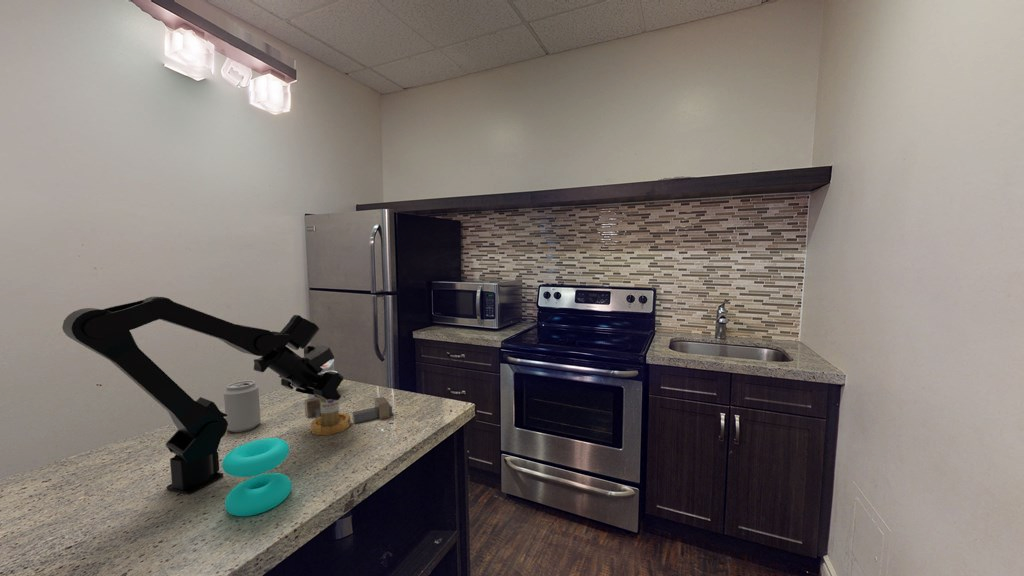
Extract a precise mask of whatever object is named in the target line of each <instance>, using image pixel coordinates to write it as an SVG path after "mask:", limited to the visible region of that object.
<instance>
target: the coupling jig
mask: <svg viewBox="0 0 1024 576" xmlns="http://www.w3.org/2000/svg"><path fill="white" fill-rule="evenodd" d="M304 415H305V416H306V417H307V418H310V417H313V418H315V419H313V420H312V421H311V423H310V431H311V433H312V434H313V435H317V436H327V435H328V436H329V435H334V434H338V433H341V432H343V431H345V430H347V429H349V428H350V426H351V424H352V423H351V416H350V415H349V414H348V413H343V412H342V413H341V412H339V422H338V423H337V424H333V425H327V426H322V425H321V412H320V398H318V397H314V398H310V399H308V398H306V399H304ZM390 416H393V406H392V405H391V404H390V403H389V401H388V400H387V398H386V397H385V396H381V397H377V398H374V407H371V408H365V409H362V410H355V411H352V422H353V423H354V424H355V425H356V424H361V423H363V422H369V421H372V420H377V419H378V420H380V421H382V420H385V419H389V418H390Z"/></svg>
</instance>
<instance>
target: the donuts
mask: <svg viewBox="0 0 1024 576" xmlns="http://www.w3.org/2000/svg"><path fill="white" fill-rule="evenodd" d="M289 453H290V445H289V444H288V442H287V441H286V440H284V439H282V438H277V437H276V438H275V437H268V438H267V437H266V438H261V439H260V438H259V439H256V440H253V441H252V440H251V441H248V442H245V443H242V444H239V446H236V447H234V448H233V449H231V450H230V451H229V452H228V453H227V454H226V455H225V456H224V457H223V460H222V463H221V467H222V470H223V472H224V473H225V474H227V475H229V476H231V477H235V478H247V477H250V478H247V479H245V480H244V481H242V482H240V483H239V484H237V485H236V486H234V487H233V488H232V489H231V491H229V493H228V494H227V496H226V498H225V502H224V507H225V510H226V512H228V513H229V514H230V515H233V516H236V517H250V516H255V515H258V514H262V513H264V512H265V513H266V512H267V511H269V510H271V509H274V508H275V507H277V506H278V505H280V504H281V503H282V502H284V500H286V499H287V498H288V496H289V494H291V491H292V488H293V487H292V481H291V479H290V478H289V477H288V475H285V474H284V473H280V472H279V473H278V472H270V471H272V470H274V469H275V468H277V467H278V466H279V465H281V464H282V463H283V462H284V461H285V460H286V459H287V457H288V456H289ZM267 472H268V473H267Z"/></svg>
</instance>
